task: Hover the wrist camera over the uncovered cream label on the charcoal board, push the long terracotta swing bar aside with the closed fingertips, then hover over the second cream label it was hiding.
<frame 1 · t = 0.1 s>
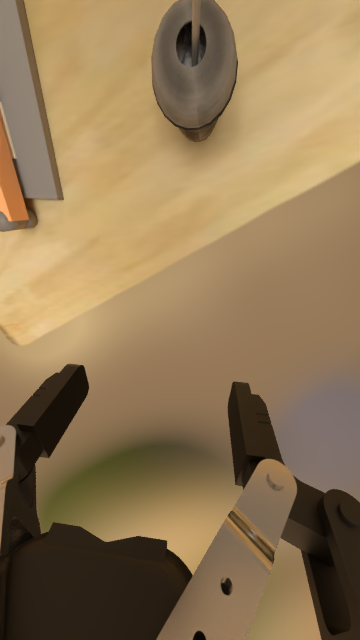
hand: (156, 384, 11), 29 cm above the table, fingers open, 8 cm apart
beverage cup: (197, 120, 28), on the table
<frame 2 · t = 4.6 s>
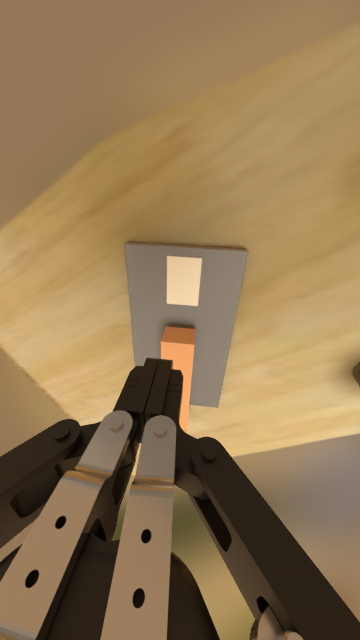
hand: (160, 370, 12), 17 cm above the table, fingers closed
swing bar: (176, 392, 31), point 4 cm above the table, hinge at 0.0°
label board: (181, 336, 31), on the table
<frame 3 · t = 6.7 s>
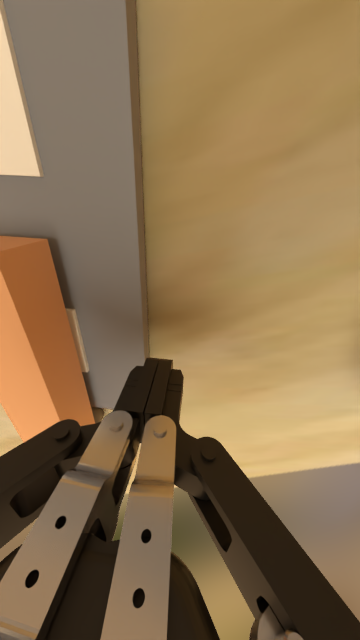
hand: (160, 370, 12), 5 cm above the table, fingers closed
swing bar: (44, 385, 16), point 4 cm above the table, hinge at 0.0°
label board: (54, 273, 16), on the table
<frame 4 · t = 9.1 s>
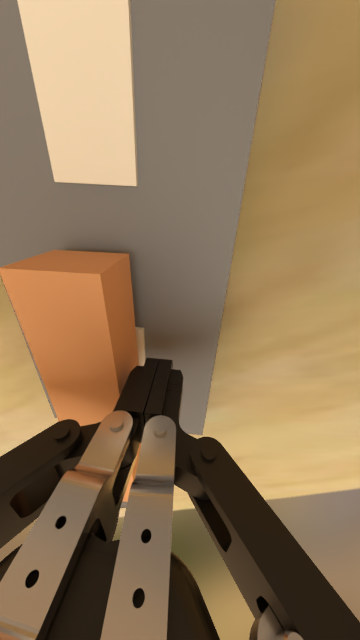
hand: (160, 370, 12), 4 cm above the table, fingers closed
swing bar: (105, 411, 14), point 4 cm above the table, hinge at 1.1°, touching gripper
label board: (119, 289, 15), on the table
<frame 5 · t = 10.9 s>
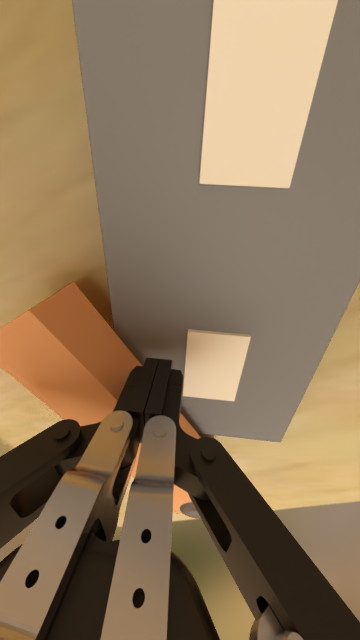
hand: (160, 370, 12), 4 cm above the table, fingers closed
swing bar: (141, 426, 15), point 4 cm above the table, hinge at 32.6°, touching gripper
label board: (221, 294, 14), on the table
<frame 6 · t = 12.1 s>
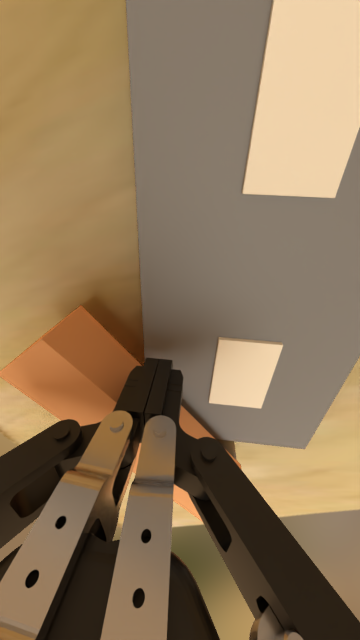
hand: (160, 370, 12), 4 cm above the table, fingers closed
swing bar: (159, 437, 15), point 4 cm above the table, hinge at 38.8°, touching gripper
label board: (251, 301, 14), on the table
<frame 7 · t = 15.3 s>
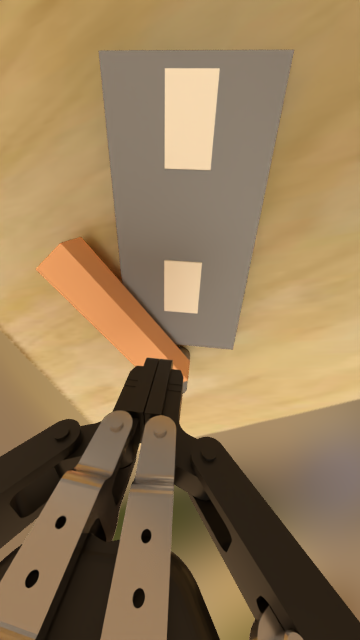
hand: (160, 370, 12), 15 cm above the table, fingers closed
swing bar: (130, 327, 24), point 4 cm above the table, hinge at 39.1°
label board: (185, 239, 23), on the table
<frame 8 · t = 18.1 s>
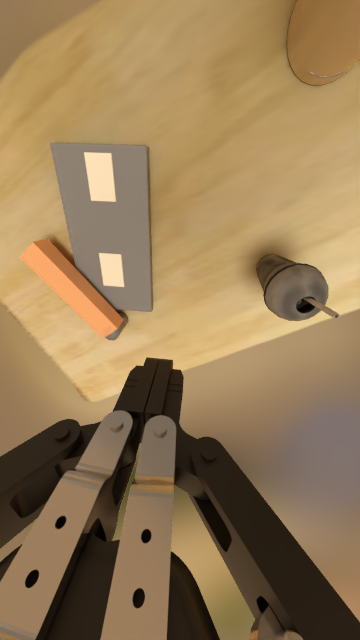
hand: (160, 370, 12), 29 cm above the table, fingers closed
swing bar: (80, 294, 39), point 4 cm above the table, hinge at 39.1°
label board: (112, 239, 37), on the table
beverage cup: (269, 267, 37), on the table
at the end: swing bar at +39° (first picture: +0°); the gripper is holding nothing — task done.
